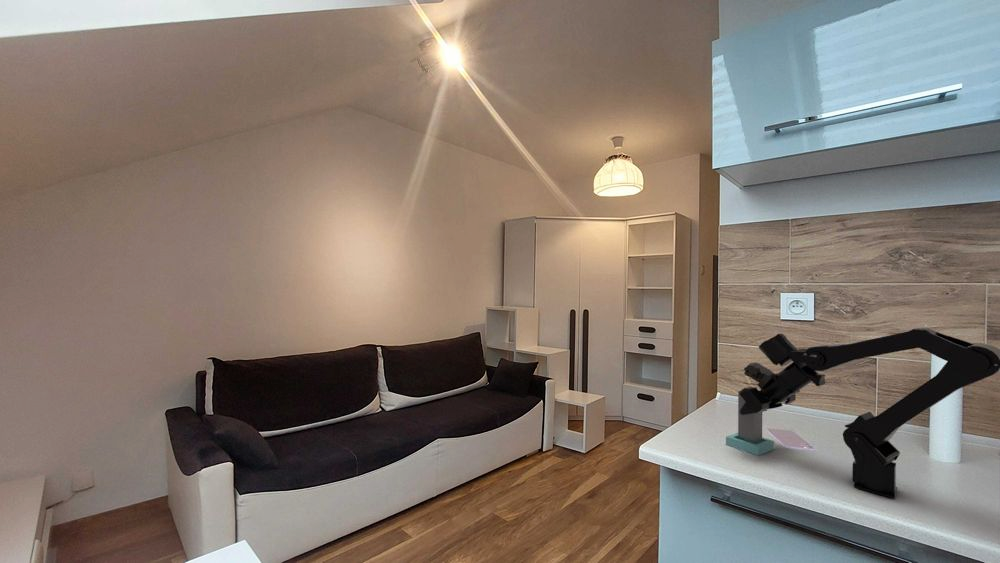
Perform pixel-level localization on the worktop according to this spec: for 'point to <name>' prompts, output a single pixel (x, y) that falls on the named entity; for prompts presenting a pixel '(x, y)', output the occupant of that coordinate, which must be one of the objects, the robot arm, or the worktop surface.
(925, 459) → the worktop surface
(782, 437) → the mobile phone
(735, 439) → the socket block
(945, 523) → the worktop surface
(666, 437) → the worktop surface
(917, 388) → the robot arm
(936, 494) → the worktop surface
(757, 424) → the grey rectangular block
